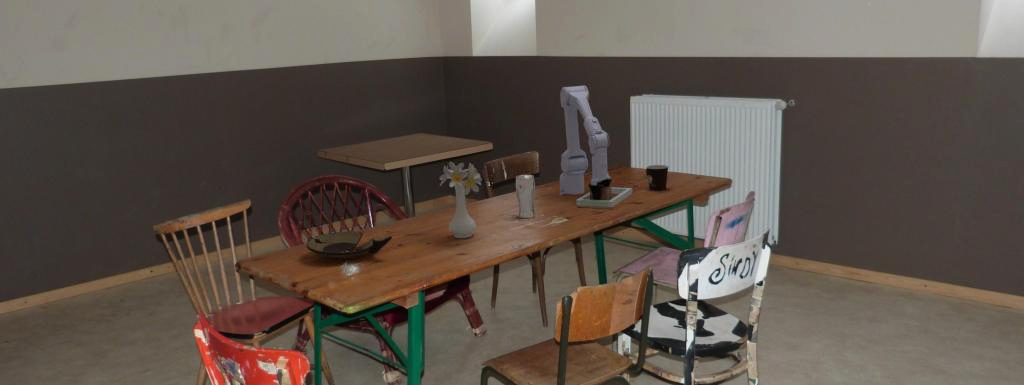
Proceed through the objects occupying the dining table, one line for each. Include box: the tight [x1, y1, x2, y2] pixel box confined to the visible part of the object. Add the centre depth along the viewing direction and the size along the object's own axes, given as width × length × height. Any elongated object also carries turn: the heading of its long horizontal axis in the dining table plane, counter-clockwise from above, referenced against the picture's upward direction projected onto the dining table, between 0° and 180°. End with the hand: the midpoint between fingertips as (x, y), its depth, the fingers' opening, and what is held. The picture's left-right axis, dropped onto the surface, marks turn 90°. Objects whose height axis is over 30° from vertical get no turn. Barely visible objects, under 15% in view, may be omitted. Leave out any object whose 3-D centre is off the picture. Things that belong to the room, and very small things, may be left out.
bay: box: [576, 186, 633, 210], centre depth 328 cm, size 14×25×3 cm, turn 155°
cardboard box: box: [589, 186, 613, 201], centre depth 323 cm, size 7×5×6 cm
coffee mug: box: [645, 164, 669, 192], centre depth 342 cm, size 12×9×10 cm
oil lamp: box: [306, 231, 393, 260], centre depth 269 cm, size 22×30×8 cm
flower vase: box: [439, 161, 483, 239], centre depth 285 cm, size 13×18×25 cm
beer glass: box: [515, 174, 536, 219], centre depth 309 cm, size 7×7×15 cm
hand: (600, 200), depth 324 cm, fingers open, 7 cm apart
